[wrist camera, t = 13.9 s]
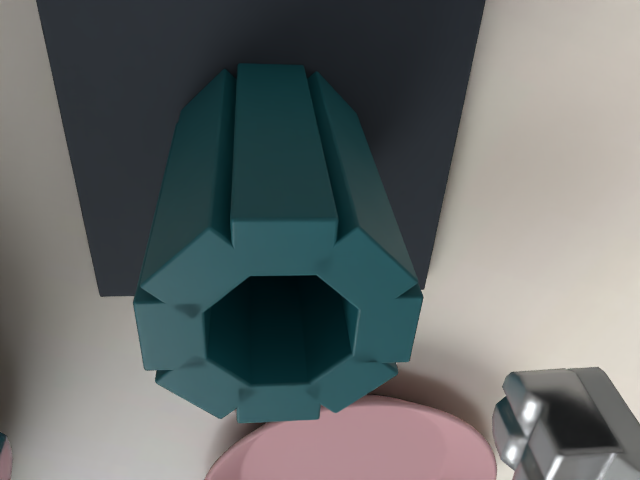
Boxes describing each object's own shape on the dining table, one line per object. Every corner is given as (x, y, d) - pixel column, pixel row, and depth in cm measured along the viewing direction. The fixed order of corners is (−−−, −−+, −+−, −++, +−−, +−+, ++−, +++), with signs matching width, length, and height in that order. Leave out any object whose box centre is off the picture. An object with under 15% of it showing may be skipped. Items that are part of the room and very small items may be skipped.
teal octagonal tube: (184, 226, 19) (153, 428, 13) (170, 60, 16) (117, 219, 10) (350, 225, 20) (398, 417, 14) (367, 65, 17) (441, 218, 10)
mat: (103, 286, 21) (99, 297, 21) (25, -86, 14) (17, -82, 14) (420, 280, 23) (424, 290, 22) (491, -62, 16) (499, -58, 15)
